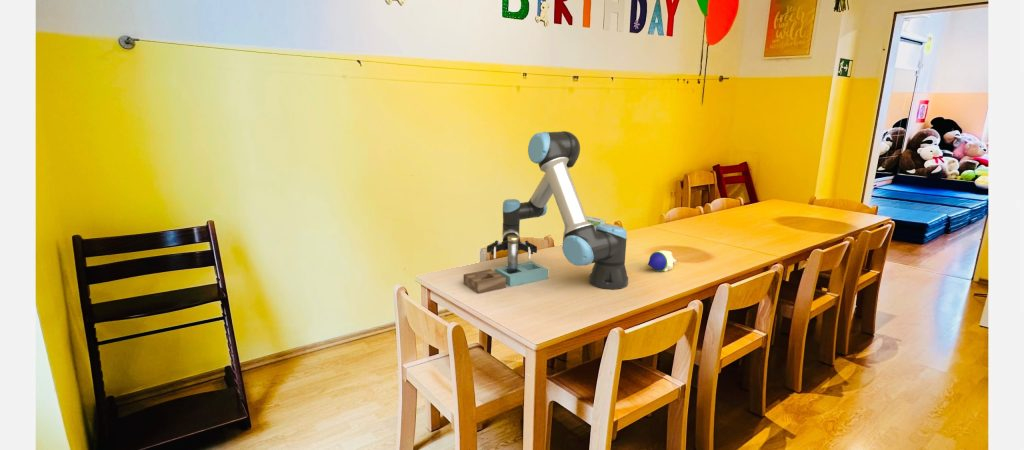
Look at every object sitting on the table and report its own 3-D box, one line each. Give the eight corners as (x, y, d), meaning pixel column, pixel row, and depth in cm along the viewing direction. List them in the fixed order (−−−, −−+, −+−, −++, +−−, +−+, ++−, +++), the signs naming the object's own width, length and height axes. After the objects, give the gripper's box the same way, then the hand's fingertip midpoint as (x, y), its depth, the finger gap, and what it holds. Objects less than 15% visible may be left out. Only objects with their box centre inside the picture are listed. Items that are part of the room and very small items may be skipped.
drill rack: (548, 278, 202) (548, 269, 201) (510, 286, 192) (510, 277, 192) (531, 270, 212) (531, 261, 211) (494, 277, 202) (494, 268, 201)
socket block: (505, 287, 191) (505, 277, 190) (478, 293, 185) (478, 283, 184) (490, 278, 201) (490, 269, 200) (463, 283, 195) (463, 274, 194)
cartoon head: (676, 272, 219) (651, 280, 206) (660, 257, 224) (635, 264, 211) (687, 258, 214) (662, 266, 201) (671, 243, 219) (646, 250, 206)
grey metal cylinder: (519, 280, 199) (521, 237, 195) (510, 282, 197) (511, 238, 193) (513, 277, 203) (515, 234, 198) (504, 279, 200) (505, 236, 196)
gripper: (540, 248, 216) (544, 264, 195) (482, 248, 215) (480, 264, 194) (540, 232, 214) (544, 245, 193) (482, 231, 213) (480, 245, 193)
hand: (512, 255), depth 194 cm, fingers open, 13 cm apart
